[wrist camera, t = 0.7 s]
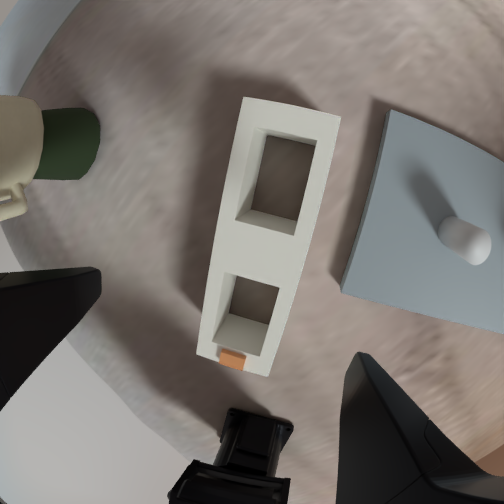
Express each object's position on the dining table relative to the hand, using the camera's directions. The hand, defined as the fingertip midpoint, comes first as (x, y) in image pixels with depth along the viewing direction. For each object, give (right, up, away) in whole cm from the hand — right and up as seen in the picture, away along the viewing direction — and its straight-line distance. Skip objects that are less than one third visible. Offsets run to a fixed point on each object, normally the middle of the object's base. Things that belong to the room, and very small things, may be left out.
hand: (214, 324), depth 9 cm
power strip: (+2, +3, +11) cm, 11 cm away
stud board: (+18, +3, +7) cm, 19 cm away
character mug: (-14, +12, +12) cm, 21 cm away
